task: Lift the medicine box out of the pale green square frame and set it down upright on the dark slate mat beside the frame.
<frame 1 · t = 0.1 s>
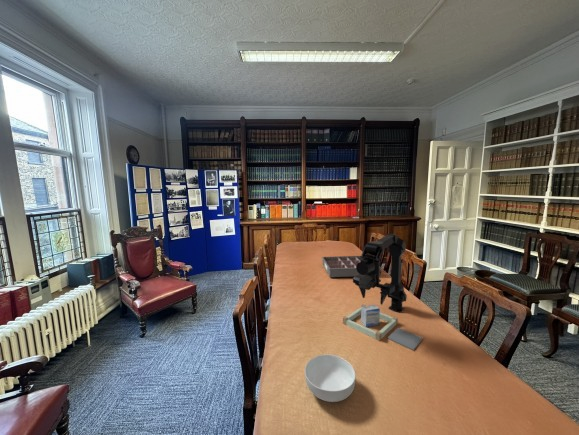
hand: (372, 300, 113), 14 cm above the table, fingers open, 9 cm apart
slate mat: (405, 338, 107), on the table
medicine box: (370, 324, 119), resting in pale green square frame
cereal bowl: (329, 389, 81), on the table
organizer tray: (349, 271, 195), on the table
pale green square frame: (370, 323, 119), on the table
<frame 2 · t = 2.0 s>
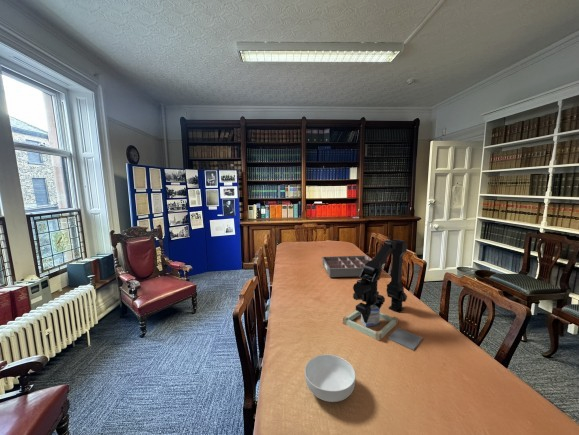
hand: (370, 319, 119), 2 cm above the table, fingers closed on medicine box, 9 cm apart
medicine box: (370, 324, 119), resting in pale green square frame, touching gripper
everything else where it was.
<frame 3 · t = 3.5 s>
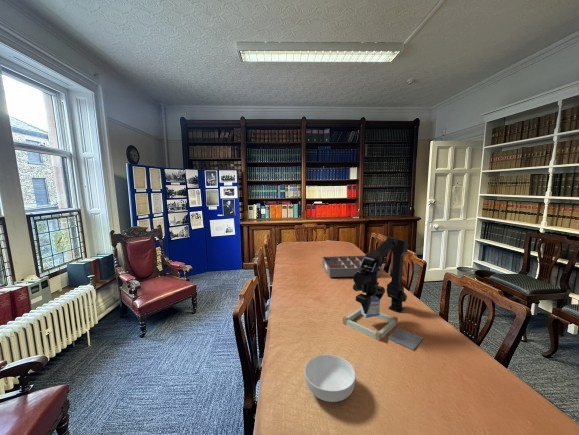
hand: (370, 310, 118), 7 cm above the table, fingers closed on medicine box, 9 cm apart
medicine box: (370, 315, 119), point 5 cm above the table, touching gripper
everything else where it was.
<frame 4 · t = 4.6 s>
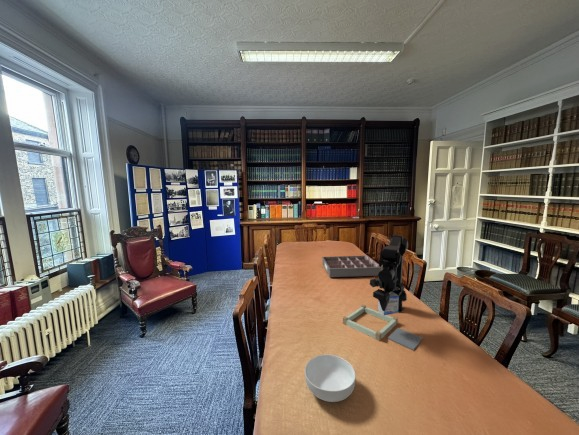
hand: (388, 307, 111), 12 cm above the table, fingers closed on medicine box, 9 cm apart
medicine box: (388, 312, 111), point 10 cm above the table, touching gripper
everything else where it was.
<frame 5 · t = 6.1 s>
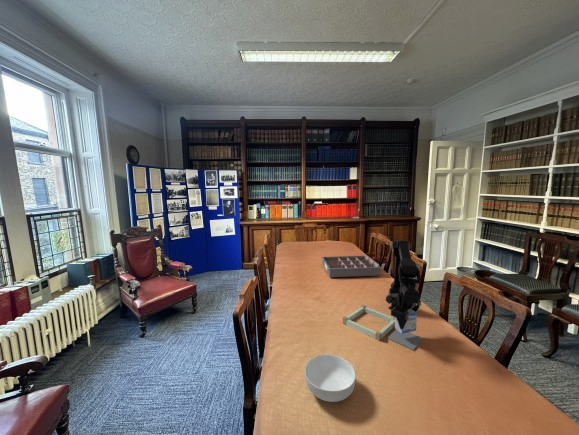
hand: (405, 325, 106), 7 cm above the table, fingers closed on medicine box, 9 cm apart
medicine box: (405, 330, 106), point 4 cm above the table, touching gripper
everything else where it was.
when the fingers open (4 cm above the table, at t = 7.3 s): medicine box stays where it is, resting on slate mat.
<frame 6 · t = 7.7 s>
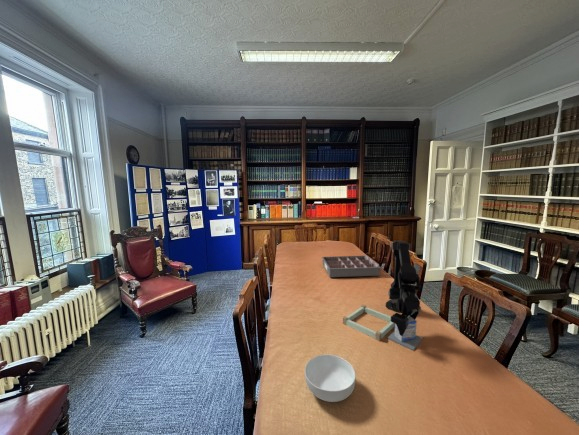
hand: (405, 331, 106), 4 cm above the table, fingers open, 9 cm apart
medicine box: (405, 337, 107), resting on slate mat, touching gripper
everything else where it was.
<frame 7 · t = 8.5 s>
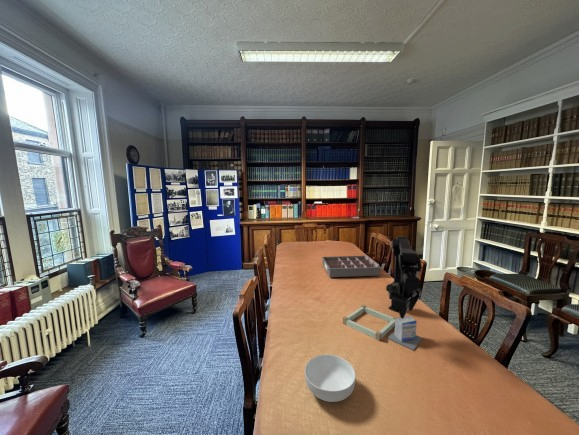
hand: (406, 314, 105), 12 cm above the table, fingers open, 9 cm apart
medicine box: (405, 337, 107), resting on slate mat
everything else where it was.
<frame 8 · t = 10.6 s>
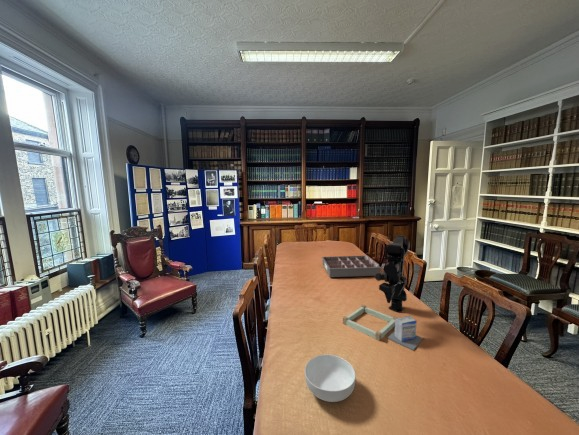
hand: (392, 299, 119), 12 cm above the table, fingers open, 9 cm apart
nothing on the table moved.
at the end: medicine box inside the target area on the slate mat (0.1 cm from its centre), point 0.4 cm above the slate mat's base; medicine box tilted 0°; the gripper is holding nothing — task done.
